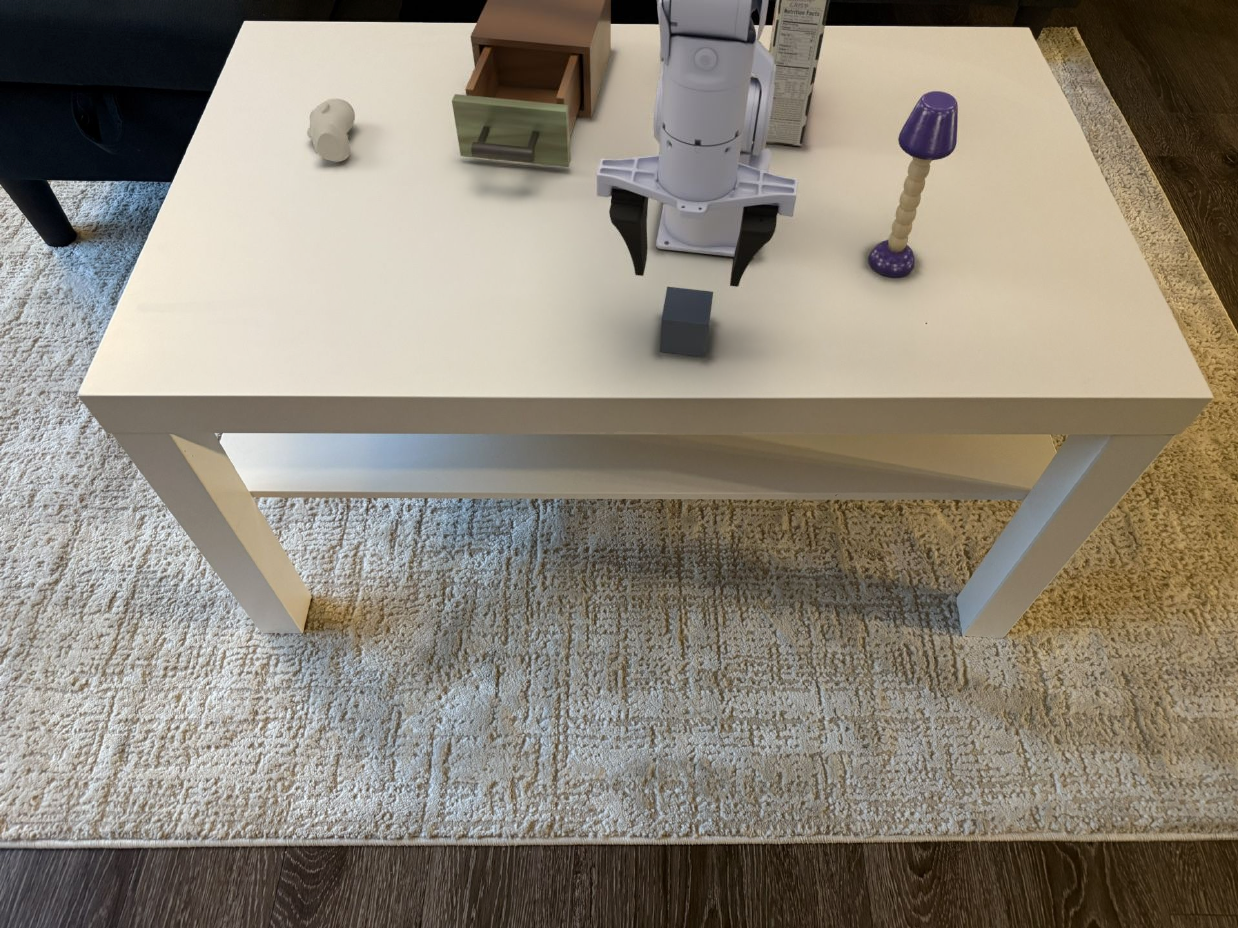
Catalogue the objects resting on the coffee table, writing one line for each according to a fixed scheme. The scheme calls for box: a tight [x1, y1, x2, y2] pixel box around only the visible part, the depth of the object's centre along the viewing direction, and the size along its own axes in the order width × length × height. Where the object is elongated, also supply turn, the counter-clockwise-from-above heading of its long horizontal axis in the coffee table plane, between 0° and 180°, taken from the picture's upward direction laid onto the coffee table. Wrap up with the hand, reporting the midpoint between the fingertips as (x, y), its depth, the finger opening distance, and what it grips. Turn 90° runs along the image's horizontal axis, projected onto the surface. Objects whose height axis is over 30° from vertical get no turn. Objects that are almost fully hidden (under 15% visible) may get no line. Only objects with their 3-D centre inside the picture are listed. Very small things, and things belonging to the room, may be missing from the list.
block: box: [658, 286, 714, 358], centre depth 75 cm, size 4×4×4 cm
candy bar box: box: [766, 0, 831, 147], centre depth 89 cm, size 11×5×16 cm, turn 171°
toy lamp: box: [868, 90, 959, 278], centre depth 75 cm, size 5×5×17 cm
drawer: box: [451, 45, 583, 168], centre depth 89 cm, size 17×11×6 cm
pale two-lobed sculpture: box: [306, 98, 356, 163], centre depth 91 cm, size 4×8×5 cm
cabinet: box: [470, 0, 612, 119], centre depth 96 cm, size 14×13×8 cm
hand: (687, 272), depth 70 cm, fingers open, 7 cm apart
